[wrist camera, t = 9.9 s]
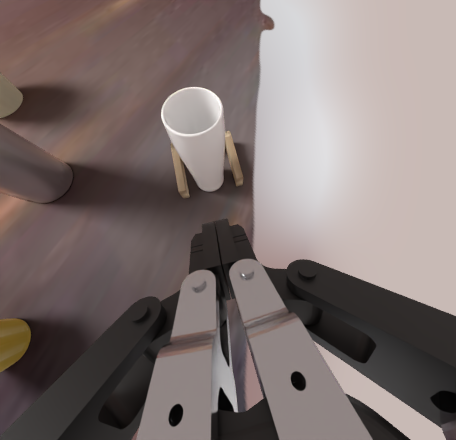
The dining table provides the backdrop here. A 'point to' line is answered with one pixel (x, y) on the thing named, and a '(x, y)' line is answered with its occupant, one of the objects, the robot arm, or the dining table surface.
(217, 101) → the drinking glass
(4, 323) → the plant pot
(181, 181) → the oak dock
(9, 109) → the reusable coffee cup
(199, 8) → the dining table surface
